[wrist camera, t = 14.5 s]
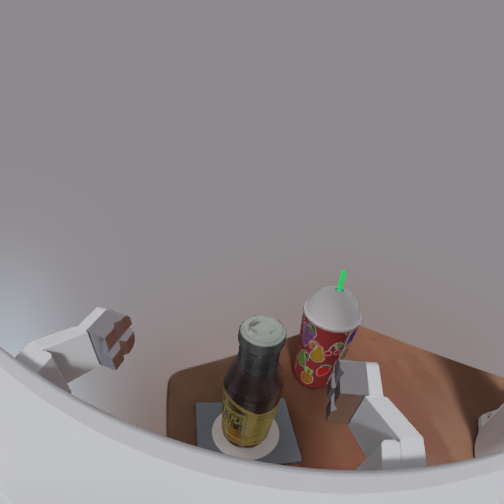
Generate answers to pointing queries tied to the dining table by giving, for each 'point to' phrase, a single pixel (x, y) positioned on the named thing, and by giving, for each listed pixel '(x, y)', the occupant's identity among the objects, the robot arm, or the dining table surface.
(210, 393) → the dining table surface
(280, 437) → the card
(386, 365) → the dining table surface
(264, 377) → the sauce bottle
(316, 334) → the smoothie
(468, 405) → the dining table surface
